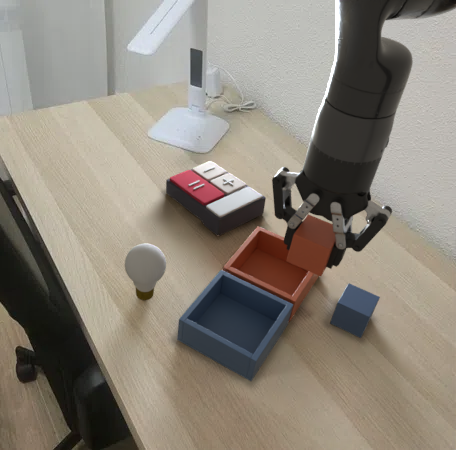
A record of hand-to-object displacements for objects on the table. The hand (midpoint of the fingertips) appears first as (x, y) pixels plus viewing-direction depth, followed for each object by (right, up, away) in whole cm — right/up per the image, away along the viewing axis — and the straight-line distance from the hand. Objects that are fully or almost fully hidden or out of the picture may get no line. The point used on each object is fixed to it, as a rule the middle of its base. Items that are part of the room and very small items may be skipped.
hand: (311, 255), depth 69 cm
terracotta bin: (-2, -5, +17) cm, 18 cm away
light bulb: (-21, -7, +14) cm, 26 cm away
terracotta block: (0, 0, 0) cm, 1 cm away
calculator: (-9, +8, +31) cm, 34 cm away
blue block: (+9, -10, +11) cm, 18 cm away
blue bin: (-9, -11, +9) cm, 17 cm away
